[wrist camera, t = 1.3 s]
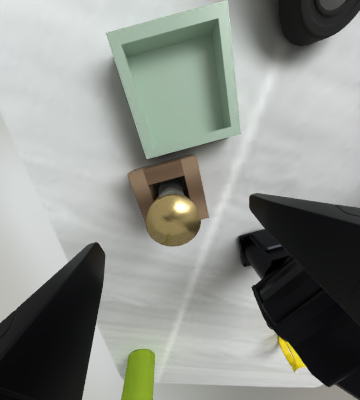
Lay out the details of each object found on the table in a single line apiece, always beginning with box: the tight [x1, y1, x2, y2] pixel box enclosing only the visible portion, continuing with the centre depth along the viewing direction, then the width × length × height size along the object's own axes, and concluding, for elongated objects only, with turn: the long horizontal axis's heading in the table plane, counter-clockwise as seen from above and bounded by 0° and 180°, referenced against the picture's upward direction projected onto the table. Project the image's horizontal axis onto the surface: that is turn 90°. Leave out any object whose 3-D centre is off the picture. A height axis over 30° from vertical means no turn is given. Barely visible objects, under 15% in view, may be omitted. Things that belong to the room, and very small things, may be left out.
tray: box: [106, 0, 241, 159], centre depth 16 cm, size 11×11×3 cm
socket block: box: [127, 154, 209, 222], centre depth 20 cm, size 8×8×4 cm
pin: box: [146, 179, 201, 246], centre depth 17 cm, size 4×4×10 cm
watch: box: [278, 336, 307, 374], centre depth 33 cm, size 6×3×6 cm, turn 14°
